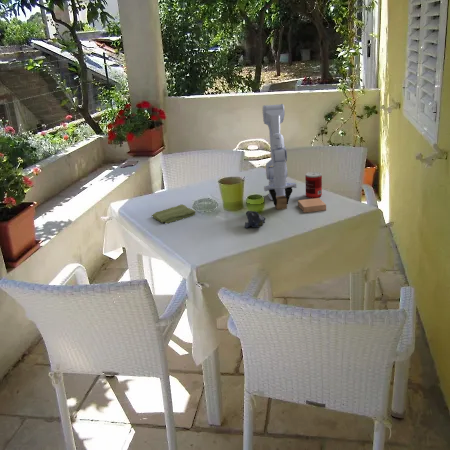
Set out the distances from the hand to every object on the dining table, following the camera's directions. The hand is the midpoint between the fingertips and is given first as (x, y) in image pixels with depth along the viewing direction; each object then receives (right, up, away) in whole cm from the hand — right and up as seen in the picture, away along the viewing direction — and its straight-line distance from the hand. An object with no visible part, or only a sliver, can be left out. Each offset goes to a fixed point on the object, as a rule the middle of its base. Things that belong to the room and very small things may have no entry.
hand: (280, 204), depth 222 cm
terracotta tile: (+14, -2, -3) cm, 14 cm away
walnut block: (0, -2, +1) cm, 2 cm away
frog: (-13, -10, -18) cm, 25 cm away
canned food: (+17, +4, +13) cm, 22 cm away
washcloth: (-49, -6, +1) cm, 49 cm away
